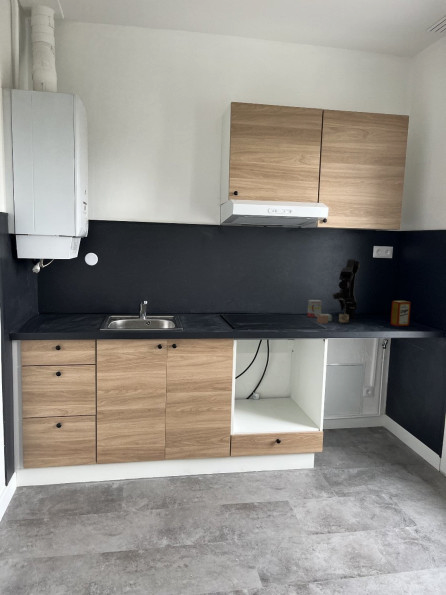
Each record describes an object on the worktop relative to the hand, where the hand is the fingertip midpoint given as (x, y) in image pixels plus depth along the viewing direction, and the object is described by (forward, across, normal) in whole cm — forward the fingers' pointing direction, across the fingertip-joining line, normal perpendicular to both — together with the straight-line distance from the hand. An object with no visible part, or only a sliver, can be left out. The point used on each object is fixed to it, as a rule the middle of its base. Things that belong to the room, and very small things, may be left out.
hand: (344, 311), depth 302 cm
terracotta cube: (+7, +5, -16) cm, 18 cm away
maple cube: (+7, 0, 0) cm, 7 cm away
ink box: (+7, -19, -15) cm, 25 cm away
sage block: (+7, -6, -11) cm, 14 cm away
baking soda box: (+7, +8, +35) cm, 37 cm away
